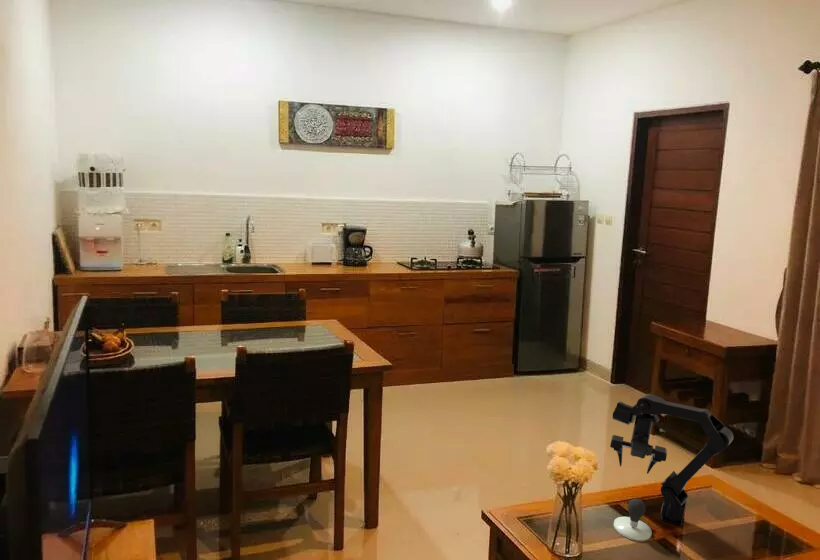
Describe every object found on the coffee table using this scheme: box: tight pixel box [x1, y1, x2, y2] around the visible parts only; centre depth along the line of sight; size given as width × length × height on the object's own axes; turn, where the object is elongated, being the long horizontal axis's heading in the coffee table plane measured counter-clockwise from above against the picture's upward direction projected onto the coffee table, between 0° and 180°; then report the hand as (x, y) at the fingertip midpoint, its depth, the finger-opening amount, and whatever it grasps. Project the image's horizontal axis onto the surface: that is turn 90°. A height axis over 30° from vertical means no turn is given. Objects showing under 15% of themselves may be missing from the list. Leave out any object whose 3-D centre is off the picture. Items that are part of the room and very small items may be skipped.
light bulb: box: [627, 498, 647, 528], centre depth 218 cm, size 6×6×10 cm
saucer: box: [613, 516, 653, 542], centre depth 219 cm, size 12×12×1 cm
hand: (633, 469), depth 235 cm, fingers open, 9 cm apart
